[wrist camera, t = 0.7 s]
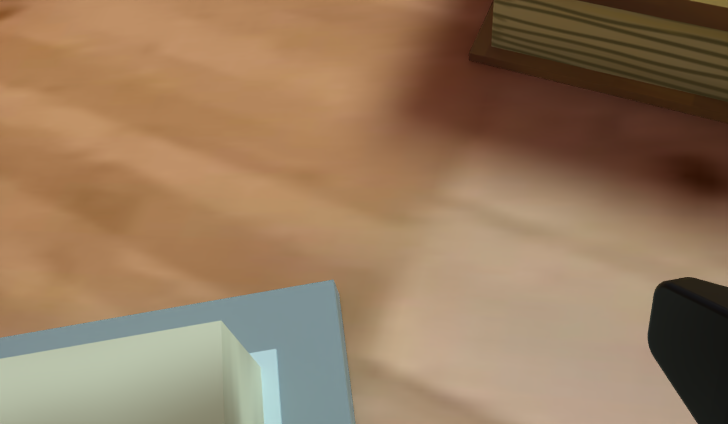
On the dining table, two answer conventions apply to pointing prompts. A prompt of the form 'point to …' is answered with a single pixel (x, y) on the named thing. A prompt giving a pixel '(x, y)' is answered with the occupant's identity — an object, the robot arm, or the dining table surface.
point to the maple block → (136, 381)
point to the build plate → (249, 346)
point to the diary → (617, 48)
